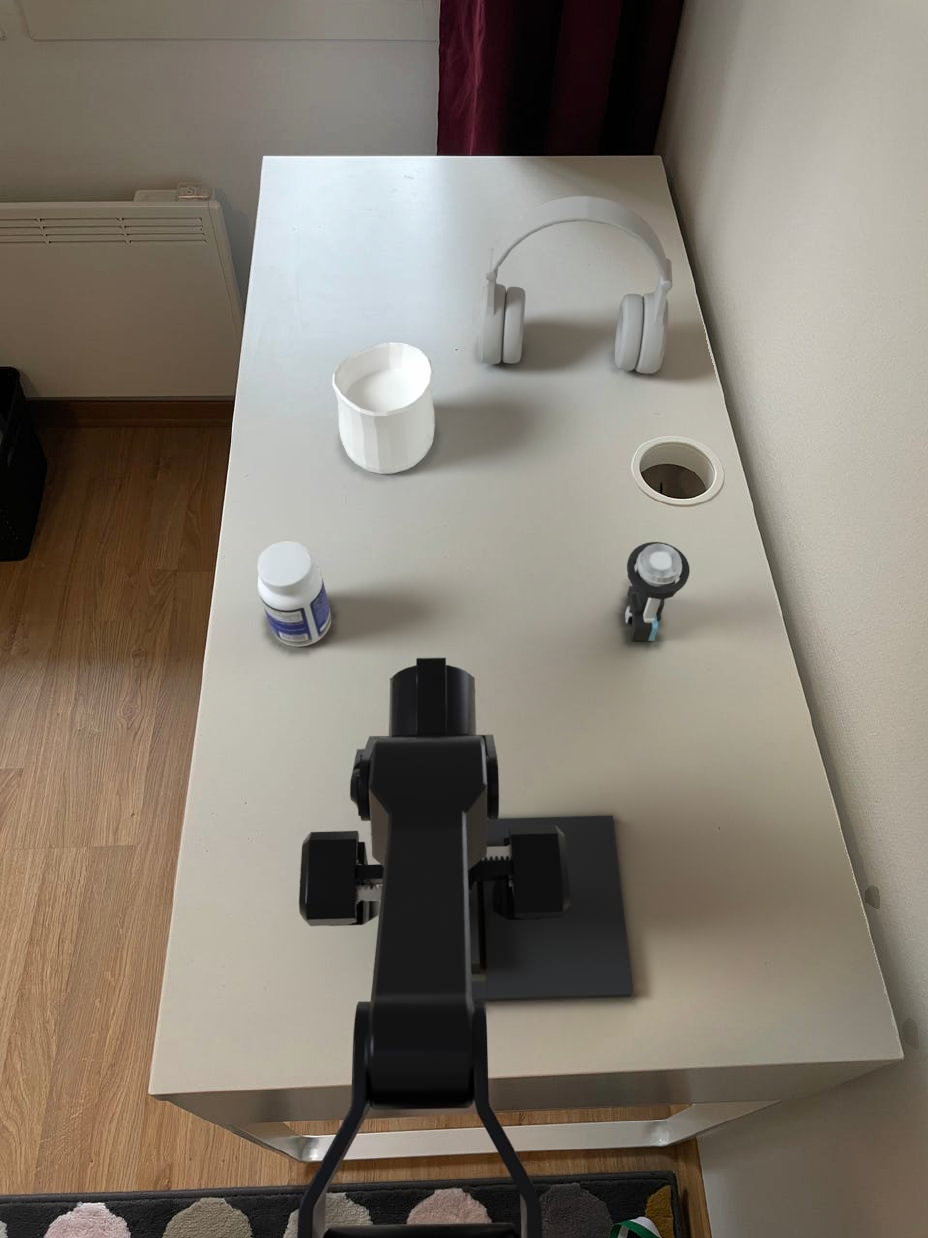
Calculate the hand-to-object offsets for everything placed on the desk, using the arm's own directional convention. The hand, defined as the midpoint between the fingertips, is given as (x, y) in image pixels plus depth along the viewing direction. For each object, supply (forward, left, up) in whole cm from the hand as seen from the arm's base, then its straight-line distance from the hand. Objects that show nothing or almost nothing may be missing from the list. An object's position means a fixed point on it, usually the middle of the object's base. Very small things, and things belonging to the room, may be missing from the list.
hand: (436, 905), depth 75 cm
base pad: (0, -5, -2) cm, 5 cm away
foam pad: (0, 0, -2) cm, 2 cm away
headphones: (+61, -16, -2) cm, 63 cm away
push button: (+27, -20, -2) cm, 33 cm away
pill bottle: (+27, +12, -2) cm, 30 cm away
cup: (+49, +4, -2) cm, 49 cm away
